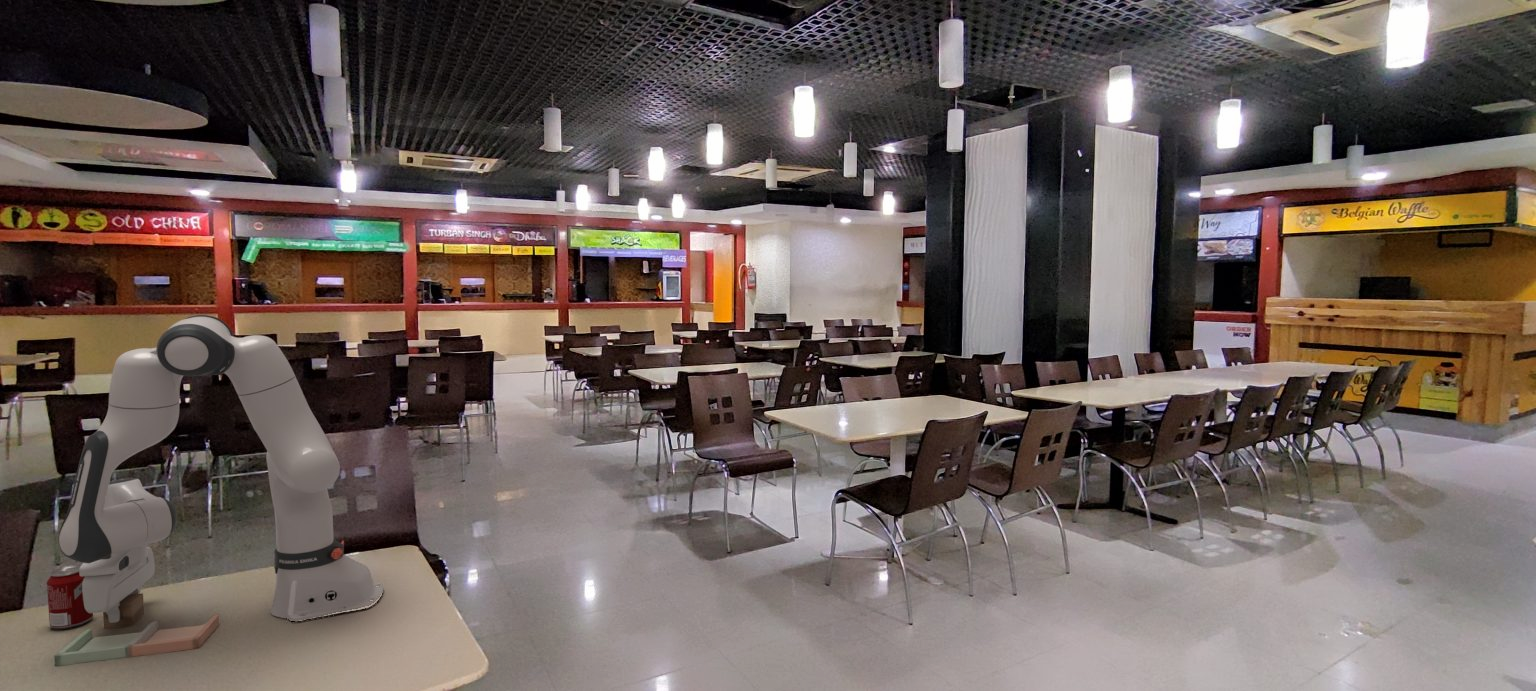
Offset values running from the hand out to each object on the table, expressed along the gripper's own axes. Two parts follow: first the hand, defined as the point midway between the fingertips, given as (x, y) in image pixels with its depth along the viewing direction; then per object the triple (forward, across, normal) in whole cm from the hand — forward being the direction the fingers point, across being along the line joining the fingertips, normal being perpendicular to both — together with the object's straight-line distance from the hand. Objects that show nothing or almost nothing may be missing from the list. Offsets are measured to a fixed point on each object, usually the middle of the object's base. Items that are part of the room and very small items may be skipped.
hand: (124, 614), depth 157 cm
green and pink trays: (+2, +12, +8) cm, 14 cm away
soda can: (+2, -2, -10) cm, 10 cm away
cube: (+2, 0, 0) cm, 2 cm away
